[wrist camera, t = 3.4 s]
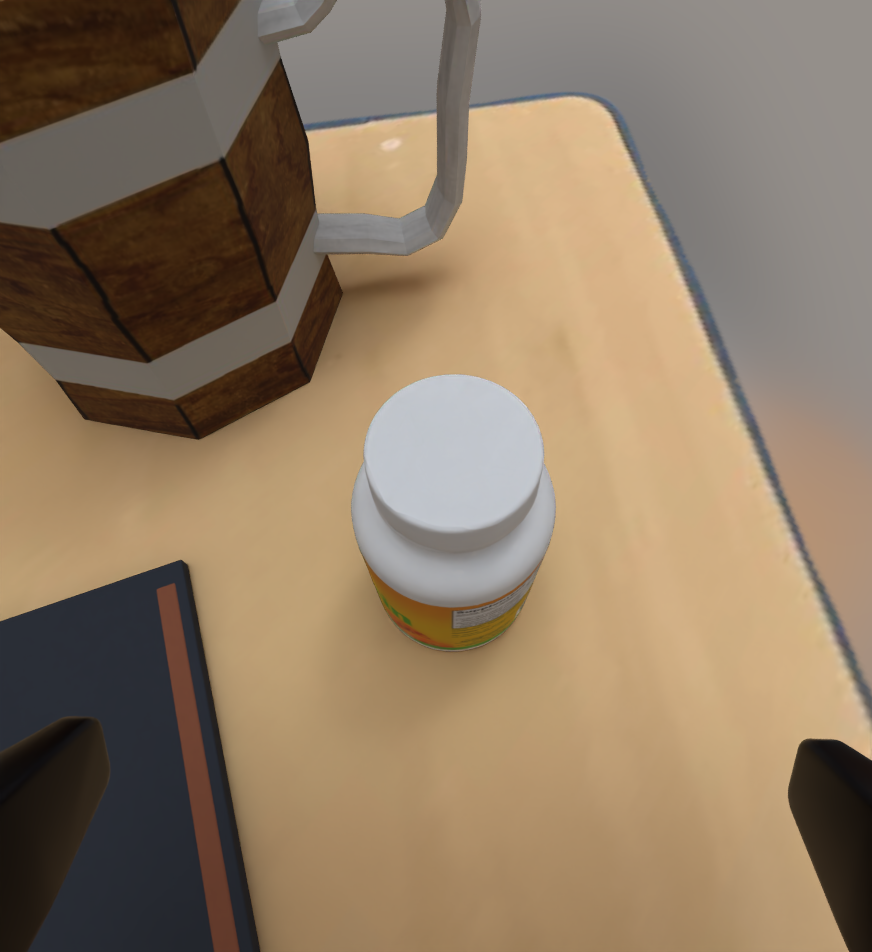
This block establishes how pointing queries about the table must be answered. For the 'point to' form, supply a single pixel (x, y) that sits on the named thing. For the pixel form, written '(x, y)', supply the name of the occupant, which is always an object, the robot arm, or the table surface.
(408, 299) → the table surface
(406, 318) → the table surface
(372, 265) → the table surface
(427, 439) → the supplement bottle
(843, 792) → the robot arm
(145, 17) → the mug
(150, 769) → the placemat
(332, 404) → the table surface
